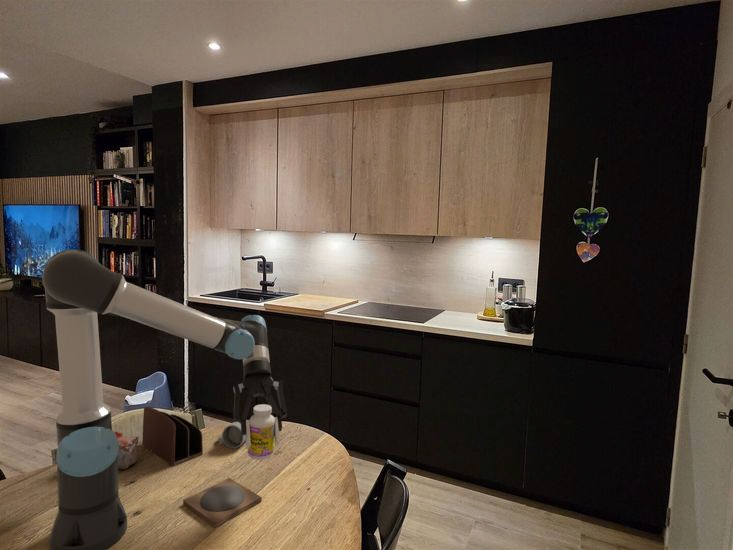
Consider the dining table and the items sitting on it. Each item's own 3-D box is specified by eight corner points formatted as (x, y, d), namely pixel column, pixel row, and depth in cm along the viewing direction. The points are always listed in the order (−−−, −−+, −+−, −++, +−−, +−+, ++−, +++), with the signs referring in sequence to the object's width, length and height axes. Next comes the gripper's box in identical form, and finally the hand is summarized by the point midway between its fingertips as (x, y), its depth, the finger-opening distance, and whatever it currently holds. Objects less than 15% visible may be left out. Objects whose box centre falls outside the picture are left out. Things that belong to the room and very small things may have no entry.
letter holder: (172, 467, 133) (172, 421, 132) (142, 445, 145) (141, 403, 144) (203, 455, 141) (203, 412, 140) (171, 435, 153) (171, 395, 152)
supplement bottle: (244, 459, 115) (245, 411, 114) (252, 447, 122) (253, 402, 120) (269, 461, 115) (271, 413, 114) (276, 449, 121) (278, 403, 120)
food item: (142, 459, 137) (142, 428, 136) (128, 473, 129) (128, 440, 128) (97, 457, 136) (97, 426, 136) (81, 471, 129) (80, 438, 128)
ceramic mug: (253, 438, 153) (253, 417, 152) (243, 449, 145) (243, 427, 144) (224, 435, 155) (224, 414, 154) (212, 446, 147) (212, 424, 146)
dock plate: (215, 527, 107) (215, 522, 107) (183, 504, 115) (183, 499, 115) (261, 501, 118) (261, 496, 118) (229, 481, 126) (229, 477, 126)
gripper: (288, 369, 134) (298, 445, 121) (219, 373, 127) (222, 455, 113) (292, 356, 129) (303, 435, 115) (221, 360, 122) (224, 444, 108)
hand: (263, 445), depth 114 cm, fingers closed on supplement bottle, 7 cm apart
